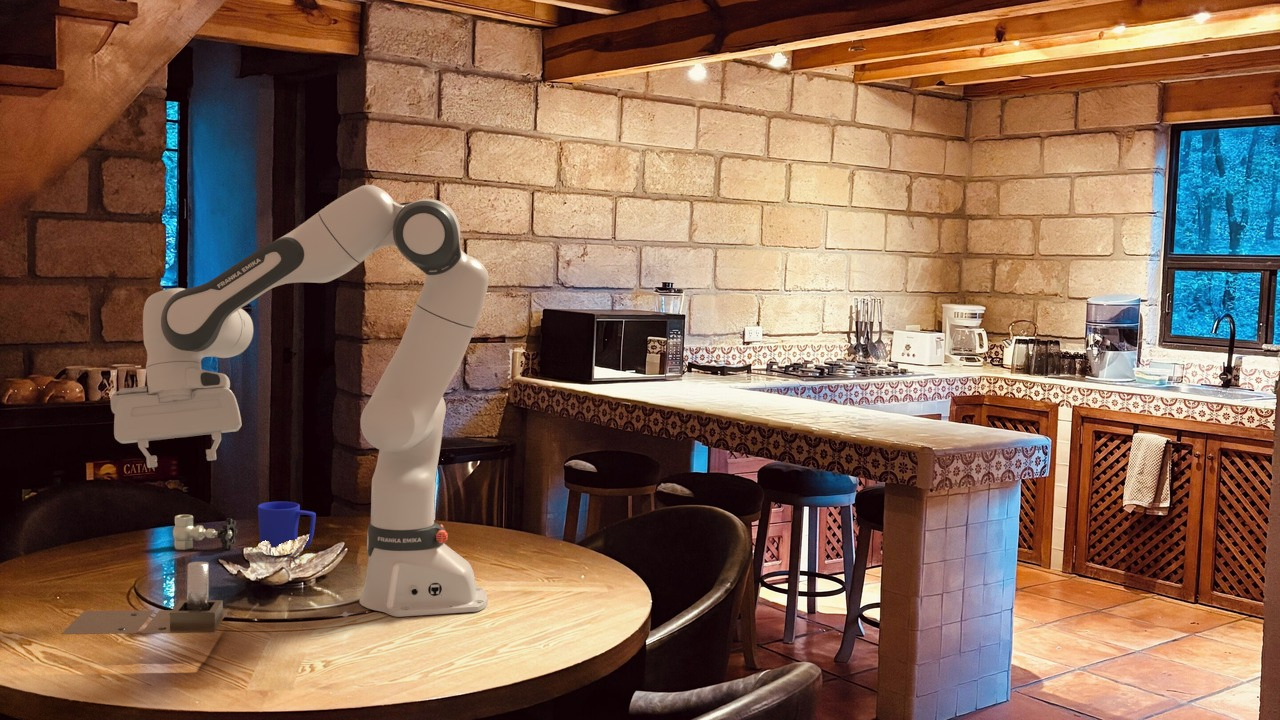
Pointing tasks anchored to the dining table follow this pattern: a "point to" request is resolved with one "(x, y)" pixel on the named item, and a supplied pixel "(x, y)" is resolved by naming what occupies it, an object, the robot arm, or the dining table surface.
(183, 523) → the valve
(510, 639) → the dining table surface
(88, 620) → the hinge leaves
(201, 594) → the pin
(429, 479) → the robot arm
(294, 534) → the mug
